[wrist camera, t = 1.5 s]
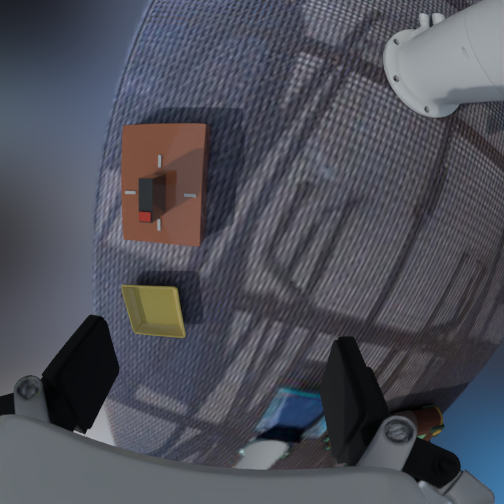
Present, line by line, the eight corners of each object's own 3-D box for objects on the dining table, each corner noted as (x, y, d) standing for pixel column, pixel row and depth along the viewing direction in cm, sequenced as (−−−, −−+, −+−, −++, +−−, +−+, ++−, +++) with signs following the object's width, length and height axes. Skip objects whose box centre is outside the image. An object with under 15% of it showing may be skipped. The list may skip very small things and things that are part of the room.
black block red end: (152, 173, 29) (137, 178, 25) (166, 173, 29) (151, 178, 25) (152, 212, 31) (137, 223, 27) (165, 213, 31) (151, 224, 27)
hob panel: (133, 125, 30) (122, 125, 27) (211, 125, 30) (206, 123, 27) (133, 231, 35) (122, 239, 32) (205, 238, 35) (199, 247, 32)
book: (312, 456, 56) (315, 488, 46) (334, 412, 48) (341, 452, 38) (402, 444, 55) (411, 471, 46) (437, 398, 47) (452, 429, 38)
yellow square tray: (189, 330, 41) (186, 338, 39) (138, 326, 41) (133, 334, 39) (181, 279, 38) (177, 286, 36) (126, 277, 38) (120, 284, 36)
